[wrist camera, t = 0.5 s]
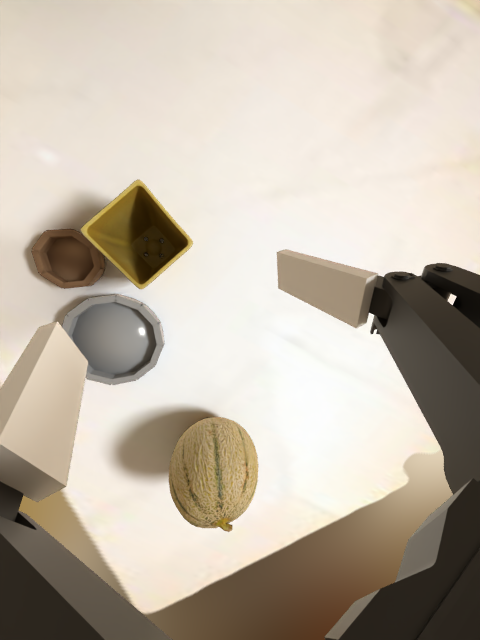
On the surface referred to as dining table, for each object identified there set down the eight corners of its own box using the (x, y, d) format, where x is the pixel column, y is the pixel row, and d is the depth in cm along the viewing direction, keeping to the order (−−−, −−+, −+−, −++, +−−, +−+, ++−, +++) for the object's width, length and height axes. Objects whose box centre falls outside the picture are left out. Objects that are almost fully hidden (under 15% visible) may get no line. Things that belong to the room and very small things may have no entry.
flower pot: (108, 242, 31) (76, 229, 22) (153, 204, 31) (138, 176, 22) (153, 287, 33) (140, 291, 25) (194, 251, 34) (195, 243, 25)
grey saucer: (55, 301, 31) (46, 303, 29) (154, 289, 33) (152, 290, 31) (82, 385, 34) (75, 392, 32) (170, 368, 37) (169, 373, 35)
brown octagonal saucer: (36, 234, 29) (25, 231, 27) (97, 231, 30) (90, 227, 28) (53, 289, 30) (44, 290, 28) (110, 283, 32) (105, 284, 30)
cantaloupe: (215, 386, 39) (229, 449, 25) (259, 430, 44) (292, 505, 30) (154, 438, 39) (133, 533, 24) (205, 477, 43) (213, 577, 29)
